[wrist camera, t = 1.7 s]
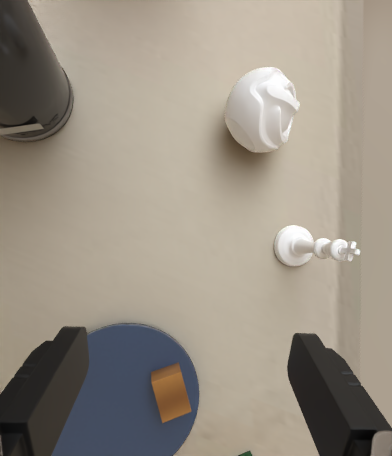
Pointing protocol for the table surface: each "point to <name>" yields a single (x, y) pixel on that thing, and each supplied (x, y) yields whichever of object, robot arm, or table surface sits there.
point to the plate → (127, 396)
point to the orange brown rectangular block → (170, 392)
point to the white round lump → (261, 109)
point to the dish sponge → (246, 454)
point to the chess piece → (309, 247)
